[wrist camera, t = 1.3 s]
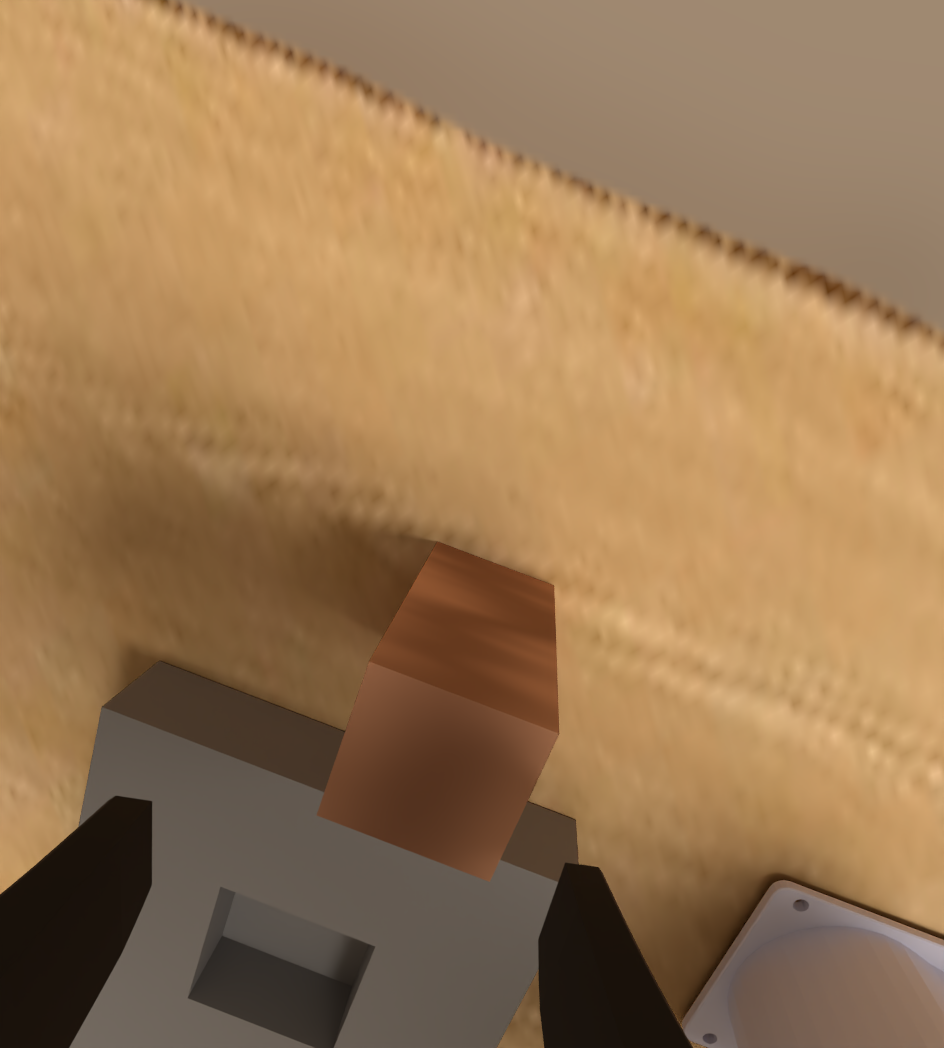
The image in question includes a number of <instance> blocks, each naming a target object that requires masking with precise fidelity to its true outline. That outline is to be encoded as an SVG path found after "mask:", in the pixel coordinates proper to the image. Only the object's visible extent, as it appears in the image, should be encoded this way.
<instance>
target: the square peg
mask: <svg viewBox="0 0 944 1048" xmlns="http://www.w3.org/2000/svg"><path fill="white" fill-rule="evenodd" d="M558 735H559V713H558V684H557V656H556V627H555V598H554V585H551V584H549V583H546V582H543V581H541V580H538V579H535V578H533V577H530V576H527V575H525V574H522V573H519V572H517V571H514V570H511V569H509V568H506V567H503V566H501V565H498V564H495V563H493V562H490V561H488V560H485V559H482V558H480V557H477V556H474V555H472V554H469V553H466V552H464V551H461V550H458V549H456V548H453V547H450V546H448V545H445V544H442V543H440V542H437V543H436V545H435V547H434V548H433V550H432V552H431V554H430V555H429V557H428V559H427V561H426V562H425V564H424V566H423V568H422V569H421V571H420V573H419V575H418V576H417V578H416V580H415V582H414V583H413V585H412V587H411V589H410V590H409V592H408V594H407V596H406V597H405V599H404V601H403V603H402V604H401V606H400V608H399V610H398V611H397V613H396V615H395V617H394V618H393V620H392V622H391V624H390V626H389V627H388V629H387V631H386V633H385V634H384V636H383V638H382V640H381V641H380V643H379V645H378V647H377V648H376V650H375V652H374V654H373V655H372V657H371V659H370V661H369V663H368V666H367V669H366V672H365V675H364V678H363V681H362V683H361V686H360V689H359V692H358V695H357V698H356V701H355V704H354V707H353V710H352V713H351V716H350V719H349V722H348V724H347V727H346V730H345V733H344V736H343V739H342V742H341V745H340V748H339V751H338V754H337V757H336V760H335V762H334V765H333V768H332V771H331V774H330V777H329V780H328V783H327V786H326V789H325V792H324V795H323V798H322V800H321V803H320V806H319V809H318V812H317V816H319V817H322V818H325V819H327V820H330V821H332V822H335V823H338V824H340V825H343V826H345V827H348V828H351V829H353V830H356V831H358V832H361V833H364V834H366V835H369V836H371V837H374V838H377V839H379V840H382V841H384V842H387V843H390V844H392V845H395V846H397V847H400V848H403V849H405V850H408V851H410V852H413V853H416V854H418V855H421V856H423V857H426V858H429V859H431V860H434V861H437V862H439V863H442V864H444V865H447V866H450V867H452V868H455V869H457V870H460V871H463V872H465V873H468V874H470V875H473V876H476V877H478V878H481V879H483V880H486V881H489V882H490V880H491V878H492V876H493V874H494V872H495V870H496V867H497V865H498V863H499V861H500V859H501V857H502V855H503V852H504V850H505V848H506V846H507V844H508V842H509V840H510V838H511V835H512V833H513V831H514V829H515V827H516V825H517V823H518V821H519V818H520V816H521V814H522V812H523V810H524V808H525V806H526V803H527V801H528V799H529V797H530V795H531V793H532V791H533V789H534V786H535V784H536V782H537V780H538V778H539V776H540V774H541V771H542V769H543V767H544V765H545V763H546V761H547V759H548V757H549V754H550V752H551V750H552V748H553V746H554V744H555V742H556V739H557V737H558Z"/></svg>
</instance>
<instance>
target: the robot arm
mask: <svg viewBox="0 0 944 1048" xmlns="http://www.w3.org/2000/svg"><path fill="white" fill-rule="evenodd" d="M151 886H152V801H149V800H143V799H136V798H129V797H122V796H114V797H113V798H111V799H109V800H108V801H107V802H106V803H105V804H104V805H103V806H101V807H100V808H99V809H98V810H97V811H96V812H95V813H94V814H93V815H92V816H90V817H89V818H88V819H87V820H86V821H85V822H84V823H83V824H82V825H80V826H79V827H78V828H77V829H76V830H75V831H74V832H73V833H71V834H70V835H69V836H68V837H67V838H66V839H65V840H64V841H62V842H61V843H60V844H59V845H58V846H57V847H56V848H54V849H53V850H52V851H51V852H50V853H49V854H48V855H46V856H45V857H44V858H43V859H42V860H41V861H40V862H38V863H37V864H36V865H35V866H34V867H33V868H31V869H30V870H29V871H28V872H27V873H26V874H24V875H23V876H22V877H21V878H20V879H18V880H17V881H16V882H15V883H14V884H12V885H11V886H10V887H9V888H8V889H6V890H5V891H4V892H3V893H2V894H0V1048H69V1047H70V1046H71V1044H72V1042H73V1040H74V1039H75V1037H76V1035H77V1033H78V1031H79V1030H80V1028H81V1026H82V1024H83V1023H84V1021H85V1019H86V1017H87V1015H88V1014H89V1012H90V1010H91V1008H92V1007H93V1005H94V1003H95V1001H96V999H97V998H98V996H99V994H100V992H101V990H102V989H103V987H104V985H105V983H106V981H107V980H108V978H109V976H110V974H111V972H112V971H113V969H114V967H115V965H116V963H117V961H118V960H119V958H120V956H121V954H122V952H123V950H124V948H125V946H126V943H127V941H128V939H129V937H130V935H131V932H132V930H133V928H134V926H135V923H136V921H137V919H138V917H139V914H140V912H141V910H142V907H143V905H144V903H145V900H146V898H147V896H148V893H149V891H150V889H151ZM799 899H802V900H801V901H798V902H795V901H796V900H799ZM538 959H539V996H540V1014H541V1022H542V1031H543V1039H544V1048H693V1047H692V1045H691V1044H690V1042H689V1040H690V1041H692V1042H695V1043H697V1044H700V1045H702V1046H705V1047H708V1048H944V940H943V939H940V938H937V937H935V936H932V935H929V934H927V933H924V932H922V931H919V930H916V929H914V928H911V927H909V926H906V925H903V924H901V923H898V922H895V921H893V920H890V919H888V918H885V917H882V916H880V915H877V914H875V913H872V912H869V911H867V910H864V909H861V908H859V907H856V906H854V905H851V904H848V903H846V902H843V901H840V900H838V899H835V898H833V897H830V896H827V895H825V894H822V893H820V892H817V891H814V890H812V889H809V888H806V887H804V886H801V885H799V884H796V883H793V882H791V881H786V880H780V881H777V882H774V883H773V884H772V885H771V886H770V887H769V889H768V890H767V892H766V893H765V895H764V896H763V898H762V899H761V901H760V902H759V904H758V905H757V907H756V908H755V910H754V912H753V913H752V915H751V916H750V918H749V919H748V921H747V922H746V924H745V925H744V927H743V928H742V930H741V931H740V933H739V934H738V936H737V938H736V939H735V941H734V942H733V944H732V945H731V947H730V948H729V950H728V951H727V953H726V954H725V956H724V957H723V959H722V960H721V962H720V963H719V965H718V967H717V968H716V970H715V971H714V973H713V974H712V976H711V977H710V979H709V980H708V982H707V983H706V985H705V986H704V988H703V989H702V991H701V993H700V994H699V996H698V997H697V999H696V1000H695V1002H694V1003H693V1005H692V1006H691V1008H690V1009H689V1011H688V1012H687V1014H686V1015H685V1017H684V1018H683V1021H682V1027H683V1030H682V1028H681V1026H680V1024H679V1023H678V1021H677V1019H676V1017H675V1015H674V1014H673V1012H672V1010H671V1008H670V1006H669V1004H668V1003H667V1001H666V999H665V997H664V995H663V993H662V991H661V990H660V988H659V986H658V984H657V982H656V980H655V979H654V977H653V975H652V973H651V971H650V969H649V967H648V965H647V963H646V961H645V959H644V958H643V956H642V954H641V952H640V950H639V948H638V946H637V944H636V942H635V940H634V938H633V936H632V934H631V932H630V930H629V928H628V926H627V924H626V922H625V919H624V917H623V915H622V913H621V911H620V909H619V907H618V905H617V903H616V901H615V899H614V897H613V894H612V892H611V890H610V888H609V886H608V884H607V882H606V879H605V877H604V875H603V873H602V872H601V870H600V869H599V867H593V866H586V865H579V864H573V863H566V862H565V864H564V867H563V870H562V873H561V876H560V878H559V881H558V884H557V887H556V890H555V893H554V895H553V898H552V901H551V904H550V907H549V910H548V913H547V915H546V918H545V921H544V924H543V927H542V930H541V933H540V935H539V938H538ZM688 1039H689V1040H688Z"/></svg>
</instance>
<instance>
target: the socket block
mask: <svg viewBox="0 0 944 1048" xmlns="http://www.w3.org/2000/svg"><path fill="white" fill-rule="evenodd" d="M344 733H345V732H344V731H341V730H339V729H336V728H333V727H331V726H328V725H326V724H323V723H320V722H318V721H315V720H313V719H310V718H307V717H305V716H302V715H299V714H297V713H294V712H292V711H289V710H286V709H284V708H281V707H279V706H276V705H273V704H271V703H268V702H266V701H263V700H260V699H258V698H255V697H252V696H250V695H247V694H245V693H242V692H239V691H237V690H234V689H232V688H229V687H226V686H224V685H221V684H218V683H216V682H213V681H211V680H208V679H205V678H203V677H200V676H198V675H195V674H192V673H190V672H187V671H184V670H182V669H179V668H177V667H174V666H171V665H169V664H166V663H164V662H161V661H158V662H157V663H156V664H155V665H153V666H152V667H151V668H150V669H148V670H147V671H146V672H145V673H143V674H142V675H141V676H140V677H138V678H137V679H136V680H135V681H133V682H132V683H131V684H130V685H128V686H127V687H126V688H125V689H123V690H122V691H121V692H120V693H118V694H117V695H116V696H115V697H113V698H112V699H111V700H110V701H108V702H107V703H106V704H105V705H104V706H102V709H101V714H100V719H99V724H98V729H97V734H96V739H95V745H94V750H93V755H92V760H91V765H90V770H89V775H88V780H87V786H86V791H85V796H84V801H83V806H82V811H81V816H80V822H79V826H80V825H82V824H83V823H84V822H85V821H86V820H87V819H88V818H89V817H90V816H92V815H93V814H94V813H95V812H96V811H97V810H98V809H99V808H100V807H101V806H103V805H104V804H105V803H106V802H107V801H108V800H109V799H111V798H113V797H114V796H122V797H129V798H136V799H143V800H149V801H152V886H151V889H150V891H149V893H148V896H147V898H146V900H145V903H144V905H143V907H142V910H141V912H140V914H139V917H138V919H137V921H136V923H135V926H134V928H133V930H132V932H131V935H130V937H129V939H128V941H127V943H126V946H125V948H124V950H123V952H122V954H121V956H120V958H119V960H118V961H117V963H116V965H115V967H114V969H113V971H112V972H111V974H110V976H109V978H108V980H107V981H106V983H105V985H104V987H103V989H102V990H101V992H100V994H99V996H98V998H97V999H96V1001H95V1003H94V1005H93V1007H92V1008H91V1010H90V1012H89V1014H88V1015H87V1017H86V1019H85V1021H84V1023H83V1024H82V1026H81V1028H80V1030H79V1031H78V1033H77V1035H76V1037H75V1039H74V1040H73V1042H72V1044H71V1046H70V1047H69V1048H497V1046H498V1044H499V1042H500V1040H501V1039H502V1037H503V1035H504V1033H505V1031H506V1029H507V1027H508V1025H509V1024H510V1022H511V1020H512V1018H513V1016H514V1014H515V1012H516V1010H517V1009H518V1007H519V1005H520V1003H521V1001H522V999H523V997H524V995H525V993H526V992H527V990H528V988H529V986H530V984H531V982H532V980H533V978H534V977H535V975H536V973H537V971H538V969H539V959H538V938H539V935H540V933H541V930H542V927H543V924H544V921H545V918H546V915H547V913H548V910H549V907H550V904H551V901H552V898H553V895H554V893H555V890H556V887H557V884H558V881H559V878H560V876H561V873H562V870H563V867H564V864H565V862H566V863H573V864H579V863H578V847H577V831H576V820H574V819H571V818H569V817H566V816H564V815H561V814H558V813H556V812H553V811H550V810H548V809H545V808H543V807H540V806H537V805H535V804H532V803H530V802H527V803H526V806H525V808H524V810H523V812H522V814H521V816H520V818H519V821H518V823H517V825H516V827H515V829H514V831H513V833H512V835H511V838H510V840H509V842H508V844H507V846H506V848H505V850H504V852H503V855H502V857H501V859H500V861H499V863H498V865H497V867H496V870H495V872H494V874H493V876H492V878H491V880H490V882H489V881H486V880H483V879H481V878H478V877H476V876H473V875H470V874H468V873H465V872H463V871H460V870H457V869H455V868H452V867H450V866H447V865H444V864H442V863H439V862H437V861H434V860H431V859H429V858H426V857H423V856H421V855H418V854H416V853H413V852H410V851H408V850H405V849H403V848H400V847H397V846H395V845H392V844H390V843H387V842H384V841H382V840H379V839H377V838H374V837H371V836H369V835H366V834H364V833H361V832H358V831H356V830H353V829H351V828H348V827H345V826H343V825H340V824H338V823H335V822H332V821H330V820H327V819H325V818H322V817H319V816H317V812H318V809H319V806H320V803H321V800H322V798H323V795H324V792H325V789H326V786H327V783H328V780H329V777H330V774H331V771H332V768H333V765H334V762H335V760H336V757H337V754H338V751H339V748H340V745H341V742H342V739H343V736H344Z"/></svg>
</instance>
